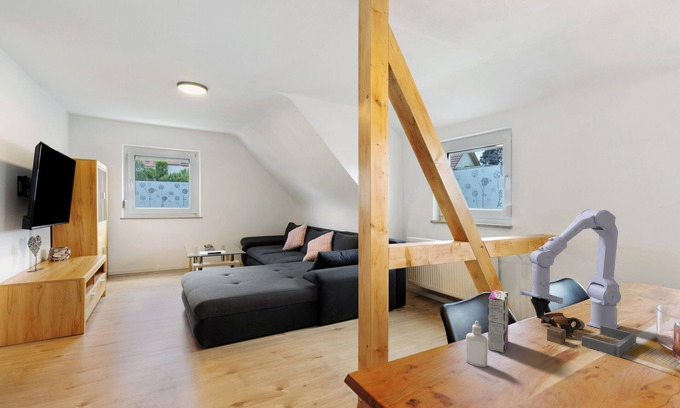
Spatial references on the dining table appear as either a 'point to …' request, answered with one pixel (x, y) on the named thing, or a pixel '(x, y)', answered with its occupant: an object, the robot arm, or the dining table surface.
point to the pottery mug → (561, 322)
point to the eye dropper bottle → (476, 347)
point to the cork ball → (581, 324)
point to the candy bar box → (498, 321)
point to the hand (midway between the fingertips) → (540, 317)
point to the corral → (615, 350)
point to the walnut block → (556, 335)
